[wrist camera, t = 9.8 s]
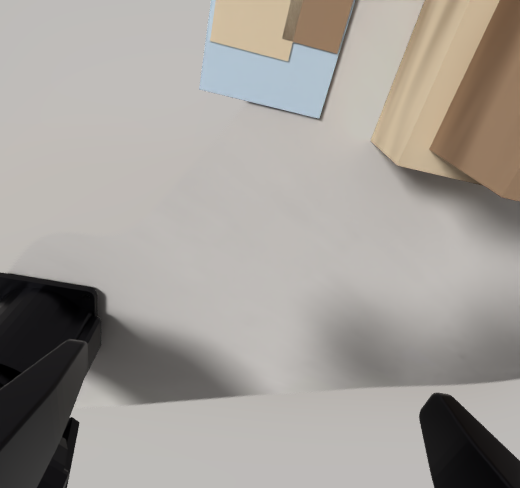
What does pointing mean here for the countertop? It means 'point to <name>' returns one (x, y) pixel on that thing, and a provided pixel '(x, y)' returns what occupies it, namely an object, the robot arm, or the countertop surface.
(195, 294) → the countertop surface
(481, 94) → the walnut block
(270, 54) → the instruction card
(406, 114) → the base block
